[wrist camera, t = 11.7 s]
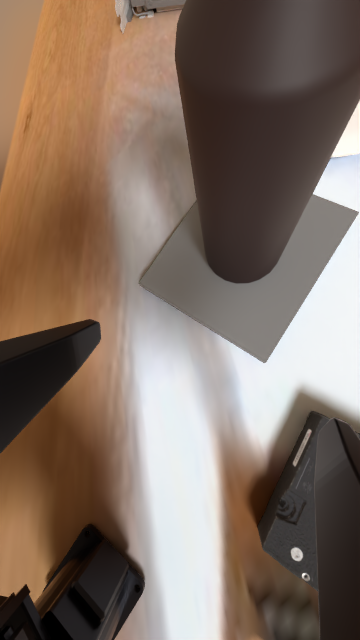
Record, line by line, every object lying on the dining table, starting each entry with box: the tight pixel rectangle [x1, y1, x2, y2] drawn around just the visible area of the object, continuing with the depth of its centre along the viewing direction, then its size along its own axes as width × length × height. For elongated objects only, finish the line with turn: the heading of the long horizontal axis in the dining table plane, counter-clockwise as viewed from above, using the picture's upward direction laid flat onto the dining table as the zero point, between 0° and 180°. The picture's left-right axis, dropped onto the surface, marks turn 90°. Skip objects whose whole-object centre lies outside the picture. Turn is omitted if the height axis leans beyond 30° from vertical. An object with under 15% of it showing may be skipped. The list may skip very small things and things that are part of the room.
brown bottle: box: [175, 0, 360, 284], centre depth 12 cm, size 7×7×20 cm
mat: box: [139, 194, 359, 363], centre depth 22 cm, size 16×14×1 cm
